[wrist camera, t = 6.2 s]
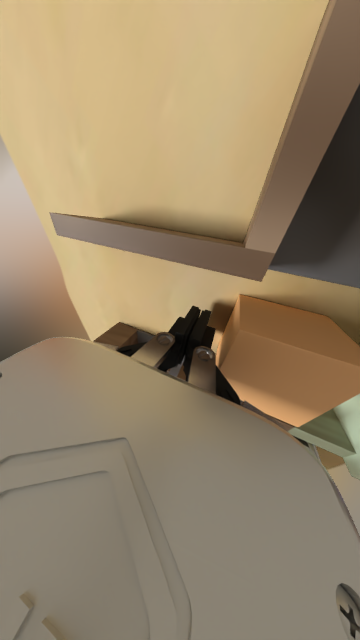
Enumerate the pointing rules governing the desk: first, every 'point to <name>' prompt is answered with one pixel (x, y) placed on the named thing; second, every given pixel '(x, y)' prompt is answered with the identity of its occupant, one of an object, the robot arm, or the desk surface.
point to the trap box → (283, 210)
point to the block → (287, 360)
